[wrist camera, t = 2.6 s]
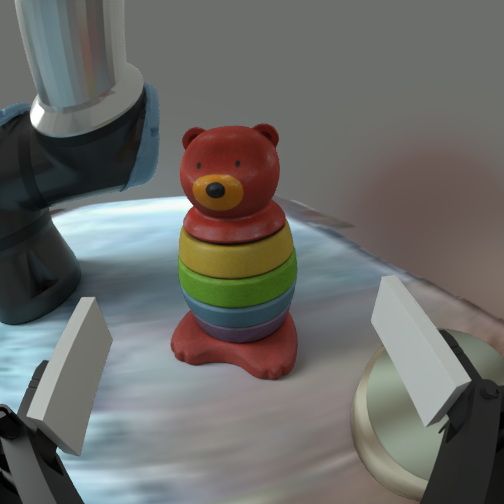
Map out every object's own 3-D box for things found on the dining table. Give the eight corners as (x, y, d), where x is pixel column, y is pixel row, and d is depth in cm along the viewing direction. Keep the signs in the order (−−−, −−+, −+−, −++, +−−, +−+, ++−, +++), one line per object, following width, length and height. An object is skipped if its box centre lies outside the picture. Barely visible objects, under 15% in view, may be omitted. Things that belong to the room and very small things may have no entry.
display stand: (318, 381, 22) (324, 357, 20) (447, 329, 25) (457, 306, 23) (404, 541, 9) (426, 534, 7) (532, 429, 12) (552, 409, 11)
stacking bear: (164, 359, 24) (112, 143, 15) (205, 291, 32) (186, 121, 23) (290, 384, 21) (307, 136, 13) (305, 304, 30) (315, 120, 21)
